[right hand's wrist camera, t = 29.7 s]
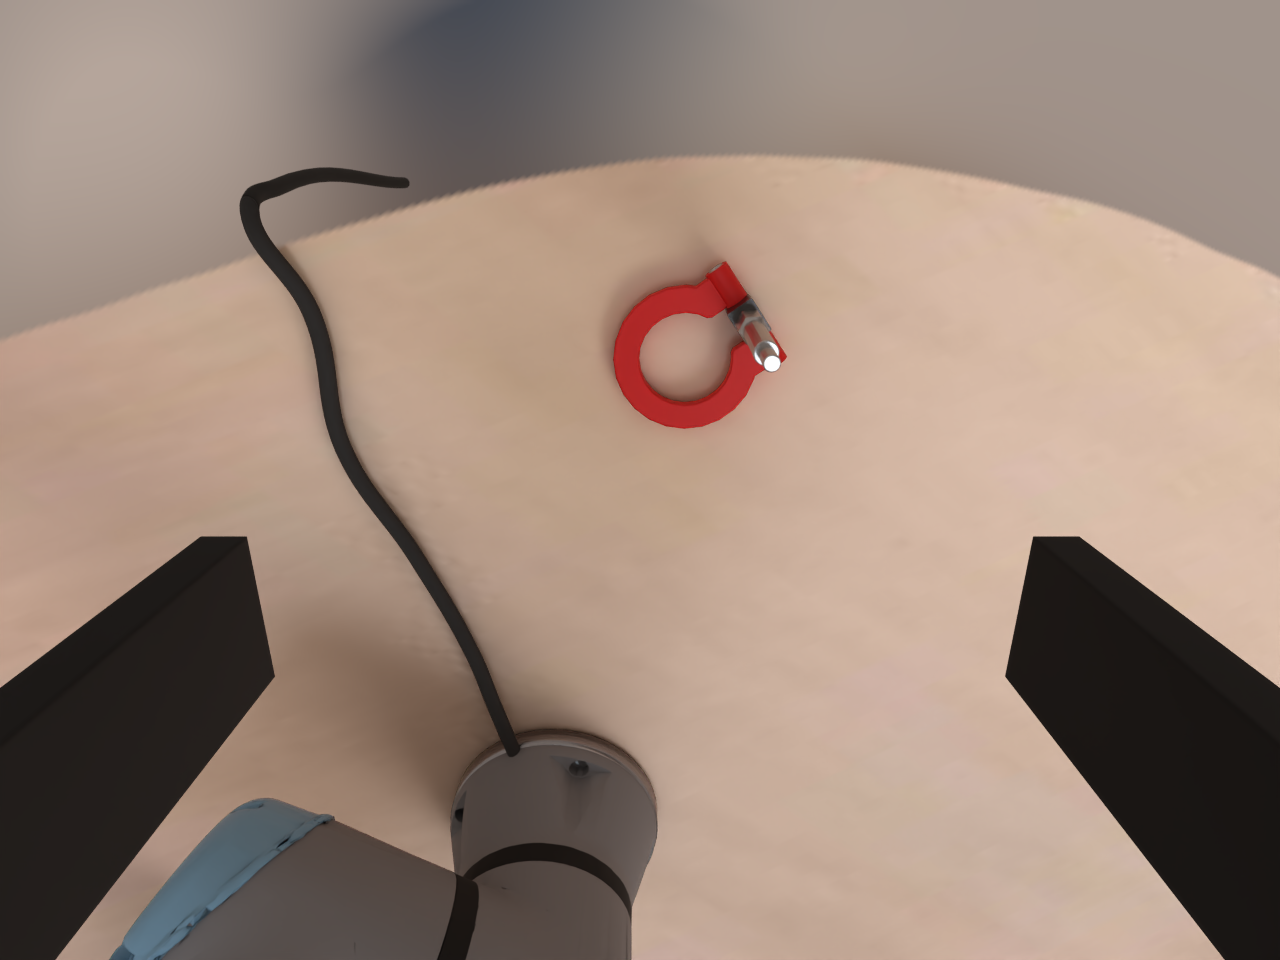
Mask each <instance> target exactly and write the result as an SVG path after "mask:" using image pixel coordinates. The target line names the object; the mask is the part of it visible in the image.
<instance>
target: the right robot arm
mask: <svg viewBox="0 0 1280 960" xmlns="http://www.w3.org/2000/svg"><path fill="white" fill-rule="evenodd" d="M319 182H347V183H356V184H364V185H370V186H377V187H385V188H408V186H409V185H410V182H409V180H408V179H407V178H405V177H392V176H385V175H379V174H373V173H368V172H363V171H357V170H352V169H344V168H333V167H319V168H311V169H304V170H300V171H295V172H291V173H288V174H285V175H282V176H280V177H277V178H275V179H272V180H269V181H266V182H261V183H258V184H254V185H252V186H250V187H249V188H247V190H246V191H245V192H244V194H243V195H242V197H241V200H240V215H241V220H242V223H243V226H244V229H245V232H246V234H247V236H248V238H249V240H250V242H251V244H252V245H253V247H254V248H255V250H256V251H257V253H258V254H259V255H260V257H261V258H262V259H263V260H264V262H265V263H266V264H267V265H268V266H269V268H270V269H271V270H272V271H273V272H274V274H275V275H276V276H277V277H278V278H279V280H280V281H281V282H282V283H283V284H284V286H285V287H286V288H287V290H288V291H289V292H290V294H291V295H292V297H293V298H294V300H295V301H296V303H297V305H298V307H299V309H300V311H301V313H302V315H303V317H304V320H305V322H306V325H307V327H308V331H309V334H310V337H311V340H312V344H313V348H314V353H315V358H316V364H317V371H318V379H319V387H320V395H321V402H322V408H323V413H324V418H325V422H326V426H327V429H328V433H329V436H330V439H331V442H332V444H333V446H334V449H335V451H336V454H337V456H338V458H339V460H340V462H341V464H342V466H343V468H344V470H345V471H346V473H347V475H348V477H349V478H350V480H351V482H352V483H353V485H354V486H355V488H356V489H357V491H358V492H359V494H360V495H361V497H362V498H363V499H364V501H365V502H366V503H367V505H368V506H369V507H370V509H371V510H372V511H373V513H374V514H375V515H376V516H377V518H378V519H379V520H380V521H381V523H382V524H383V525H384V526H385V528H386V529H387V530H388V532H389V533H390V534H391V536H392V537H393V538H394V540H395V541H396V542H397V544H398V545H399V547H400V548H401V549H402V551H403V552H404V554H405V555H406V557H407V558H408V560H409V561H410V563H411V565H412V566H413V568H414V569H415V571H416V572H417V574H418V576H419V577H420V579H421V580H422V582H423V583H424V585H425V587H426V588H427V590H428V591H429V593H430V595H431V596H432V598H433V599H434V601H435V603H436V604H437V606H438V607H439V609H440V611H441V612H442V614H443V616H444V618H445V619H446V621H447V623H448V624H449V626H450V628H451V630H452V632H453V633H454V635H455V637H456V639H457V641H458V643H459V645H460V646H461V648H462V650H463V652H464V654H465V656H466V658H467V660H468V662H469V664H470V667H471V669H472V671H473V673H474V676H475V678H476V681H477V683H478V686H479V688H480V691H481V693H482V696H483V699H484V701H485V704H486V706H487V708H488V711H489V713H490V716H491V718H492V720H493V723H494V725H495V727H496V730H497V732H498V734H499V737H500V739H501V741H499V742H497V743H496V744H494V745H492V746H491V747H489V748H488V749H486V750H485V751H484V752H482V753H481V754H480V755H479V756H478V757H477V758H476V759H475V760H474V761H473V762H472V763H471V764H470V766H469V767H468V768H467V770H466V771H465V773H464V775H463V777H462V779H461V781H460V784H459V786H458V789H457V793H456V796H455V799H454V802H453V806H452V810H451V840H452V850H453V860H454V870H455V873H454V872H452V871H449V870H447V869H445V868H442V867H440V866H438V865H435V864H433V863H431V862H428V861H426V860H424V859H421V858H419V857H416V856H414V855H412V854H410V853H407V852H405V851H403V850H401V849H398V848H396V847H394V846H392V845H389V844H387V843H385V842H383V841H380V840H378V839H376V838H374V837H371V836H369V835H367V834H365V833H362V832H360V831H358V830H356V829H353V828H351V827H349V826H347V825H344V824H342V823H340V822H338V821H335V818H334V816H332V815H329V814H321V815H318V814H315V813H312V812H309V811H307V810H304V809H301V808H299V807H296V806H293V805H290V804H288V803H285V802H282V801H280V800H276V799H271V798H260V799H255V800H252V801H249V802H247V803H244V804H243V805H241V806H239V807H237V808H236V809H235V810H233V811H232V812H231V813H229V814H228V815H227V816H226V817H225V818H224V819H223V820H221V821H220V822H219V823H218V824H217V825H216V826H215V827H214V828H213V829H212V830H211V831H210V832H209V833H208V834H207V835H206V837H205V838H204V839H203V840H202V841H201V842H200V843H199V844H198V845H197V847H196V848H195V849H194V850H193V851H192V852H191V853H190V854H189V856H188V857H187V858H186V859H185V860H184V861H183V863H182V864H181V865H180V866H179V867H178V869H177V870H176V871H175V872H174V873H173V875H172V876H171V877H170V878H169V879H168V881H167V882H166V883H165V884H164V886H163V887H162V888H161V889H160V891H159V892H158V893H157V894H156V896H155V897H154V898H153V899H152V901H151V902H150V903H149V904H148V906H147V907H146V908H145V910H144V911H143V912H142V913H141V915H140V916H139V917H138V919H137V920H136V921H135V923H134V924H133V926H132V927H131V928H130V930H129V931H128V932H127V934H126V935H125V937H124V940H123V943H122V945H121V946H119V947H118V948H117V949H116V951H115V952H114V953H113V955H112V956H111V958H110V959H109V960H631V916H632V905H633V902H634V900H635V897H636V894H637V892H638V889H639V886H640V883H641V880H642V877H643V874H644V871H645V869H646V866H647V864H648V862H649V860H650V858H651V856H652V853H653V850H654V846H655V842H656V838H657V805H656V798H655V794H654V791H653V788H652V786H651V783H650V782H649V780H648V778H647V776H646V775H645V773H644V772H643V770H642V769H641V768H640V767H639V765H638V764H637V763H636V762H635V761H634V760H633V759H632V758H631V757H630V756H628V755H627V754H626V753H624V752H623V751H622V750H620V749H619V748H617V747H616V746H614V745H612V744H610V743H608V742H606V741H604V740H602V739H600V738H597V737H594V736H591V735H588V734H585V733H580V732H576V731H569V730H557V729H549V730H536V731H530V732H524V733H521V734H517V735H515V734H514V732H513V730H512V727H511V725H510V723H509V720H508V718H507V716H506V713H505V711H504V708H503V706H502V704H501V701H500V699H499V696H498V694H497V691H496V689H495V686H494V683H493V681H492V678H491V676H490V673H489V671H488V668H487V666H486V664H485V661H484V659H483V657H482V655H481V653H480V651H479V649H478V647H477V645H476V643H475V641H474V639H473V637H472V635H471V633H470V631H469V629H468V628H467V626H466V624H465V622H464V620H463V618H462V617H461V615H460V613H459V611H458V610H457V608H456V606H455V604H454V603H453V601H452V599H451V598H450V596H449V594H448V593H447V591H446V590H445V588H444V586H443V585H442V583H441V581H440V580H439V578H438V577H437V575H436V573H435V572H434V570H433V569H432V567H431V565H430V564H429V562H428V561H427V559H426V557H425V556H424V554H423V553H422V551H421V550H420V548H419V546H418V545H417V543H416V542H415V540H414V539H413V538H412V536H411V535H410V533H409V532H408V531H407V529H406V528H405V527H404V525H403V524H402V523H401V521H400V520H399V519H398V517H397V516H396V515H395V513H394V512H393V511H392V510H391V508H390V507H389V506H388V504H387V503H386V502H385V501H384V499H383V498H382V497H381V495H380V494H379V493H378V491H377V490H376V488H375V487H374V486H373V484H372V483H371V481H370V480H369V478H368V476H367V475H366V473H365V471H364V470H363V468H362V466H361V464H360V463H359V461H358V459H357V457H356V455H355V453H354V450H353V448H352V446H351V444H350V441H349V439H348V436H347V433H346V430H345V426H344V423H343V419H342V414H341V409H340V403H339V396H338V388H337V380H336V371H335V364H334V358H333V352H332V347H331V343H330V339H329V335H328V331H327V328H326V325H325V322H324V319H323V317H322V314H321V312H320V309H319V307H318V305H317V303H316V301H315V299H314V297H313V295H312V294H311V292H310V290H309V289H308V287H307V286H306V284H305V283H304V282H303V280H302V279H301V278H300V276H299V275H298V274H297V272H296V271H295V270H294V269H293V267H292V266H291V265H290V264H289V263H288V261H287V260H286V259H285V258H284V257H283V255H282V254H281V253H280V252H279V250H278V249H277V248H276V247H275V245H274V244H273V242H272V241H271V240H270V238H269V237H268V235H267V233H266V231H265V229H264V227H263V225H262V223H261V219H260V212H259V209H260V204H261V203H262V202H264V201H266V200H268V199H271V198H275V197H278V196H281V195H283V194H285V193H288V192H290V191H292V190H294V189H297V188H299V187H302V186H306V185H309V184H313V183H319ZM274 677H275V675H274V670H273V665H272V660H271V655H270V650H269V645H268V640H267V635H266V630H265V625H264V620H263V615H262V610H261V605H260V600H259V595H258V590H257V585H256V580H255V575H254V570H253V565H252V560H251V555H250V550H249V545H248V540H247V537H200V538H198V539H197V540H196V541H194V542H193V543H192V544H190V545H189V546H188V547H186V548H185V549H184V550H182V551H181V552H180V553H178V554H177V555H176V556H174V557H173V558H172V559H170V560H169V561H168V562H166V563H165V564H164V565H163V566H161V567H160V568H159V569H157V570H156V571H155V572H153V573H152V574H151V575H149V576H148V577H147V578H145V579H144V580H143V581H141V582H140V583H139V584H137V585H136V586H135V587H133V588H132V589H131V590H129V591H128V592H127V593H125V594H124V595H123V596H121V597H120V598H119V599H117V600H116V601H115V602H113V603H112V604H111V605H109V606H108V607H107V608H106V609H104V610H103V611H102V612H100V613H99V614H98V615H96V616H95V617H94V618H92V619H91V620H90V621H88V622H87V623H86V624H84V625H83V626H82V627H80V628H79V629H78V630H76V631H75V632H74V633H72V634H71V635H70V636H68V637H67V638H66V639H64V640H63V641H62V642H60V643H59V644H58V645H56V646H55V647H54V648H53V649H51V650H50V651H49V652H47V653H46V654H45V655H43V656H42V657H41V658H39V659H38V660H37V661H35V662H34V663H33V664H31V665H30V666H29V667H27V668H26V669H25V670H23V671H22V672H21V673H19V674H18V675H17V676H15V677H14V678H13V679H11V680H10V681H9V682H7V683H6V684H5V685H3V686H2V687H1V688H0V960H55V959H56V958H57V957H58V956H59V954H60V953H61V952H62V950H63V949H64V948H65V947H66V945H67V944H68V943H69V941H70V940H71V939H72V938H73V936H74V935H75V934H76V932H77V931H78V930H79V929H80V927H81V926H82V925H83V923H84V922H85V921H86V919H87V918H88V917H89V916H90V914H91V913H92V912H93V910H94V909H95V908H96V907H97V905H98V904H99V903H100V901H101V900H102V899H103V898H104V896H105V895H106V894H107V892H108V891H109V890H110V889H111V887H112V886H113V885H114V883H115V882H116V881H117V879H118V878H119V877H120V876H121V874H122V873H123V872H124V870H125V869H126V868H127V867H128V865H129V864H130V863H131V861H132V860H133V859H134V858H135V856H136V855H137V854H138V852H139V851H140V850H141V849H142V847H143V846H144V845H145V843H146V842H147V841H148V839H149V838H150V837H151V836H152V834H153V833H154V832H155V830H156V829H157V828H158V827H159V825H160V824H161V823H162V821H163V820H164V819H165V818H166V816H167V815H168V814H169V812H170V811H171V810H172V809H173V807H174V806H175V805H176V803H177V802H178V801H179V799H180V798H181V797H182V796H183V794H184V793H185V792H186V790H187V789H188V788H189V787H190V785H191V784H192V783H193V781H194V780H195V779H196V778H197V776H198V775H199V774H200V772H201V771H202V770H203V768H204V767H205V766H206V765H207V763H208V762H209V761H210V759H211V758H212V757H213V756H214V754H215V753H216V752H217V750H218V749H219V748H220V747H221V745H222V744H223V743H224V741H225V740H226V739H227V738H228V736H229V735H230V734H231V732H232V731H233V730H234V728H235V727H236V726H237V725H238V723H239V722H240V721H241V719H242V718H243V717H244V716H245V714H246V713H247V712H248V710H249V709H250V708H251V707H252V705H253V704H254V703H255V701H256V700H257V699H258V698H259V696H260V695H261V694H262V692H263V691H264V690H265V688H266V687H267V686H268V685H269V683H270V682H271V681H272V679H273V678H274ZM1005 677H1006V678H1007V679H1008V681H1009V682H1010V683H1011V685H1012V686H1013V687H1014V688H1015V690H1016V691H1017V692H1018V694H1019V695H1020V696H1021V698H1022V699H1023V700H1024V701H1025V703H1026V704H1027V705H1028V707H1029V708H1030V709H1031V710H1032V712H1033V713H1034V714H1035V716H1036V717H1037V718H1038V719H1039V721H1040V722H1041V723H1042V725H1043V726H1044V727H1045V728H1046V730H1047V731H1048V732H1049V734H1050V735H1051V736H1052V738H1053V739H1054V740H1055V741H1056V743H1057V744H1058V745H1059V747H1060V748H1061V749H1062V750H1063V752H1064V753H1065V754H1066V756H1067V757H1068V758H1069V759H1070V761H1071V762H1072V763H1073V765H1074V766H1075V767H1076V768H1077V770H1078V771H1079V772H1080V774H1081V775H1082V776H1083V778H1084V779H1085V780H1086V781H1087V783H1088V784H1089V785H1090V787H1091V788H1092V789H1093V790H1094V792H1095V793H1096V794H1097V796H1098V797H1099V798H1100V799H1101V801H1102V802H1103V803H1104V805H1105V806H1106V807H1107V809H1108V810H1109V811H1110V812H1111V814H1112V815H1113V816H1114V818H1115V819H1116V820H1117V821H1118V823H1119V824H1120V825H1121V827H1122V828H1123V829H1124V830H1125V832H1126V833H1127V834H1128V836H1129V837H1130V838H1131V839H1132V841H1133V842H1134V843H1135V845H1136V846H1137V847H1138V849H1139V850H1140V851H1141V852H1142V854H1143V855H1144V856H1145V858H1146V859H1147V860H1148V861H1149V863H1150V864H1151V865H1152V867H1153V868H1154V869H1155V870H1156V872H1157V873H1158V874H1159V876H1160V877H1161V878H1162V879H1163V881H1164V882H1165V883H1166V885H1167V886H1168V887H1169V889H1170V890H1171V891H1172V892H1173V894H1174V895H1175V896H1176V898H1177V899H1178V900H1179V901H1180V903H1181V904H1182V905H1183V907H1184V908H1185V909H1186V910H1187V912H1188V913H1189V914H1190V916H1191V917H1192V918H1193V919H1194V921H1195V922H1196V923H1197V925H1198V926H1199V927H1200V929H1201V930H1202V931H1203V932H1204V934H1205V935H1206V936H1207V938H1208V939H1209V940H1210V941H1211V943H1212V944H1213V945H1214V947H1215V948H1216V949H1217V950H1218V952H1219V953H1220V954H1221V956H1222V957H1223V958H1224V959H1225V960H1280V688H1279V687H1278V686H1277V685H1275V684H1274V683H1273V682H1271V681H1270V680H1269V679H1267V678H1266V677H1265V676H1263V675H1262V674H1261V673H1259V672H1258V671H1257V670H1255V669H1254V668H1253V667H1251V666H1250V665H1249V664H1247V663H1246V662H1245V661H1243V660H1242V659H1241V658H1239V657H1238V656H1237V655H1235V654H1234V653H1233V652H1231V651H1230V650H1229V649H1227V648H1226V647H1225V646H1224V645H1222V644H1221V643H1220V642H1218V641H1217V640H1216V639H1214V638H1213V637H1212V636H1210V635H1209V634H1208V633H1206V632H1205V631H1204V630H1202V629H1201V628H1200V627H1198V626H1197V625H1196V624H1194V623H1193V622H1192V621H1190V620H1189V619H1188V618H1186V617H1185V616H1184V615H1182V614H1181V613H1180V612H1178V611H1177V610H1176V609H1174V608H1173V607H1172V606H1171V605H1169V604H1168V603H1167V602H1165V601H1164V600H1163V599H1161V598H1160V597H1159V596H1157V595H1156V594H1155V593H1153V592H1152V591H1151V590H1149V589H1148V588H1147V587H1145V586H1144V585H1143V584H1141V583H1140V582H1139V581H1137V580H1136V579H1135V578H1133V577H1132V576H1131V575H1129V574H1128V573H1127V572H1125V571H1124V570H1123V569H1121V568H1120V567H1119V566H1117V565H1116V564H1115V563H1114V562H1112V561H1111V560H1110V559H1108V558H1107V557H1106V556H1104V555H1103V554H1102V553H1100V552H1099V551H1098V550H1096V549H1095V548H1094V547H1092V546H1091V545H1090V544H1088V543H1087V542H1086V541H1084V540H1083V539H1082V538H1080V537H1033V540H1032V545H1031V550H1030V555H1029V560H1028V565H1027V570H1026V575H1025V580H1024V585H1023V590H1022V595H1021V600H1020V605H1019V610H1018V615H1017V620H1016V625H1015V630H1014V635H1013V640H1012V645H1011V650H1010V655H1009V660H1008V665H1007V670H1006V675H1005Z"/></svg>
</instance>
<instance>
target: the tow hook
mask: <svg viewBox="0 0 1280 960" xmlns="http://www.w3.org/2000/svg"><path fill="white" fill-rule="evenodd" d="M725 308H726V312H727V315H728V317H729V319H730V320H731V322H732V323H733V325H734V326H735V328H736V329H737V331H738V333H739V334H740V336H741V337H742V339H743V340H744V341H742V342H741V343H739V344H738V345H736V346H735V347H733V348H732V351H731V362H730V368H729V371H728V373H727V375H726V377H725V380H724V381H723V382H722V384H721V385H720V386H719V387H718V388H717V390H715V391H714V392H712V393H711V394H710V395H708V396H707V397H704V398H702V399H699V400H697V401H690V402H680V401H672V400H670V399H668V398H665V397H663V396H661V395H660V394H658V393H657V392H656V391H654V390H653V389H652V388H651V387H650V385H649V384H648V383H647V381H646V380H645V378H644V376H643V373H642V371H641V367H640V360H639V354H640V347H641V344H642V342H643V340H644V337H645V335H646V334H647V333H648V332H649V330H650V329H651V328H652V326H654V325H655V324H656V323H658V322H659V321H660V320H662V319H663V318H666V317H668V316H671V315H673V314H680V313H692V314H699V315H701V316H703V317H706V318H712V317H713V316H715V315H716V314H718V313H719V312H721V311H722V310H724V309H725ZM786 357H787V356H786V354H785V353H784V351H783V350H782V348H781V347H780V345H779V343H778V342H777V340H776V339H775V337H774V336H773V334H772V332H771V328H770V326H769V324H768V323H767V321H766V320H765V318H764V317H763V315H762V313H761V312H760V310H759V309H758V307H757V306H756V304H755V302H754V301H753V299H752V298H751V296H750V295H749V294H747V293H746V292H745V290H744V289H743V287H742V286H741V284H740V282H739V281H738V279H737V278H736V276H735V275H734V273H733V272H732V270H731V268H730V267H729V265H728V264H727V262H723V263H720V264H718V265H717V266H715V267H714V268H713V269H711V270H710V271H709V272H708V273H707V275H706V279H705V280H703V281H702V282H701V283H699V284H698V285H696V286H693V285H680V286H672V287H666V288H664V289H662V290H659V291H657V292H655V293H652V294H650V295H648V296H647V297H646V298H645V299H643V300H642V301H641V302H640V303H638V304H637V305H636V306H634V308H633V309H632V310H631V312H630V313H629V314H628V316H627V317H626V318H625V320H624V321H623V323H622V326H621V328H620V331H619V333H618V336H617V338H616V341H615V349H614V358H613V361H614V367H615V374H616V379H617V381H618V383H619V386H620V388H621V390H622V392H623V395H624V396H625V397H626V398H627V400H628V401H629V402H630V403H631V405H632V406H633V407H634V408H635V409H636V410H637V411H639V412H640V413H641V414H643V415H644V416H645V417H647V418H648V419H649V420H652V421H654V422H657V423H659V424H662V425H664V426H668V427H676V428H683V429H685V428H694V427H702V426H705V425H707V424H710V423H713V422H715V421H718V420H720V419H721V418H723V417H724V416H725V415H727V414H728V413H730V412H731V411H733V410H734V409H735V408H736V407H737V405H738V404H739V403H740V402H741V401H742V400H743V398H744V397H745V396H746V394H747V392H748V390H749V388H750V386H751V384H752V382H753V380H754V377H755V375H757V374H758V373H760V372H762V371H763V370H766V371H768V372H775V371H777V370H778V369H779V368H780V366H781V363H782V362H783V361H784V360H785V359H786Z"/></svg>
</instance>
